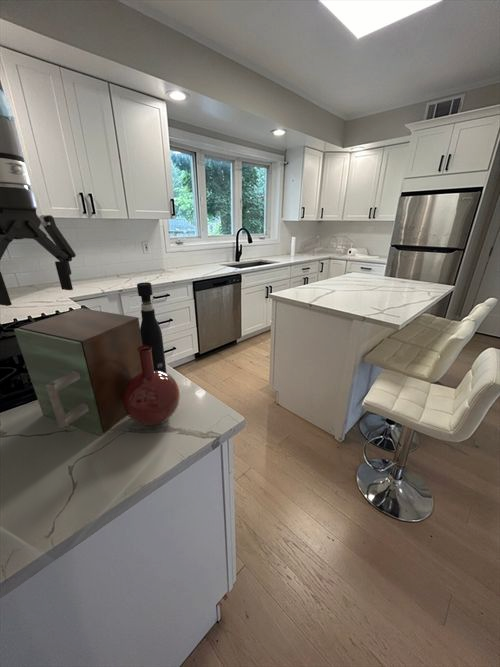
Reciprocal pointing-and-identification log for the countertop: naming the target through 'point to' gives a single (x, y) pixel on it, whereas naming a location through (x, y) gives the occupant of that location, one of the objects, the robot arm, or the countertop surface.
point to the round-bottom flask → (150, 393)
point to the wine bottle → (151, 327)
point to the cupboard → (101, 353)
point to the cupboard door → (60, 379)
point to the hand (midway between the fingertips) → (39, 296)
